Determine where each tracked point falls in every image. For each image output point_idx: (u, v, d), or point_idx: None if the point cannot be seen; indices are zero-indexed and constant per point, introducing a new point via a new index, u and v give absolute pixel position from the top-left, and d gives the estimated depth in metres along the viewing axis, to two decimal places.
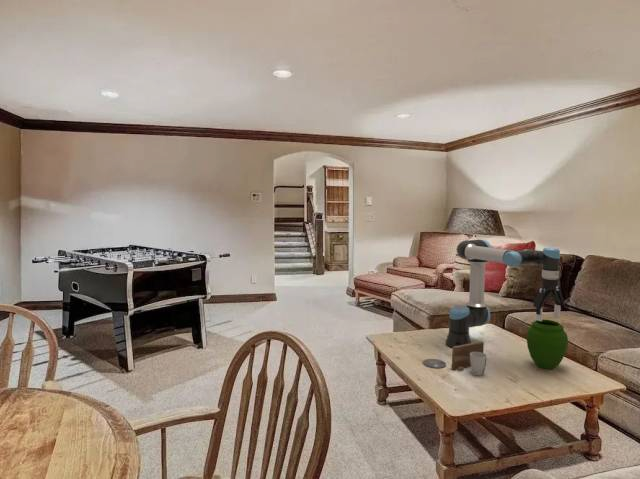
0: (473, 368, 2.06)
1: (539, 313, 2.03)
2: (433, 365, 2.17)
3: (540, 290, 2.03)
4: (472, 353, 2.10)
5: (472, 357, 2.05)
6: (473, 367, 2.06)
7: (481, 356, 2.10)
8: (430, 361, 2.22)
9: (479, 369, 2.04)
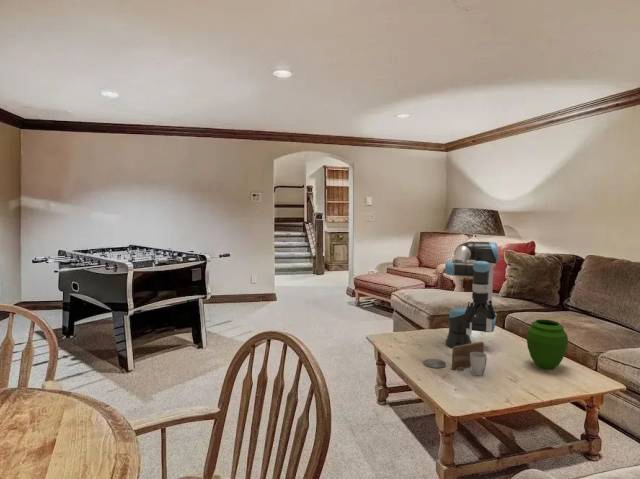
0: (473, 368, 2.06)
1: (468, 327, 2.01)
2: (433, 365, 2.17)
3: (469, 304, 2.02)
4: (472, 353, 2.10)
5: (472, 357, 2.05)
6: (473, 367, 2.06)
7: (481, 356, 2.10)
8: (430, 361, 2.22)
9: (479, 369, 2.04)
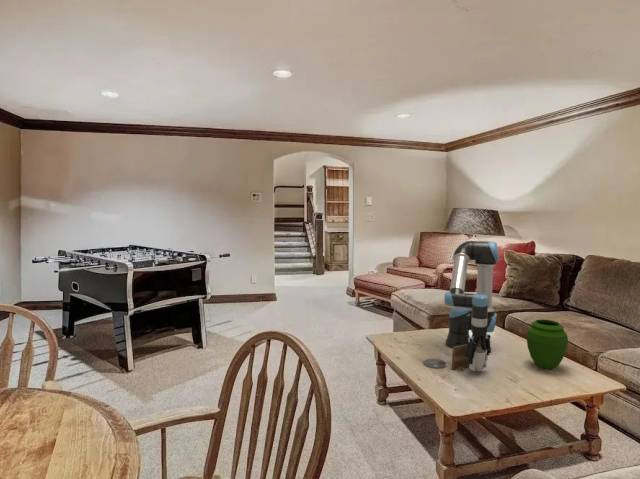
0: None
1: (471, 363, 2.05)
2: (433, 365, 2.17)
3: (468, 340, 2.04)
4: None
5: None
6: None
7: (481, 351, 2.10)
8: (430, 361, 2.22)
9: (479, 364, 2.04)
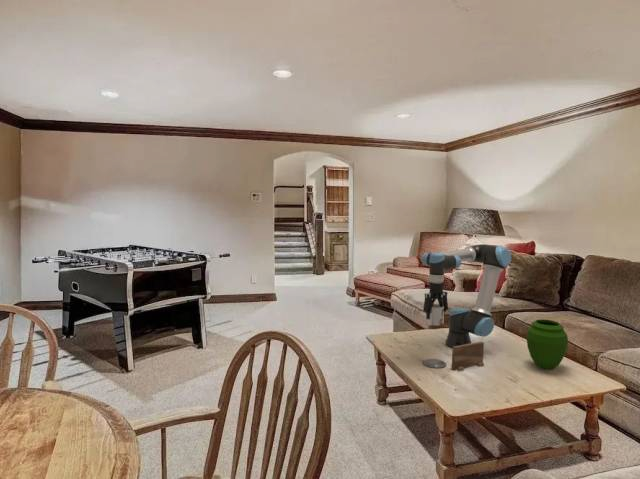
0: None
1: (428, 318, 2.15)
2: (433, 365, 2.17)
3: (426, 295, 2.14)
4: None
5: None
6: None
7: (439, 308, 2.20)
8: (430, 361, 2.22)
9: (436, 319, 2.14)
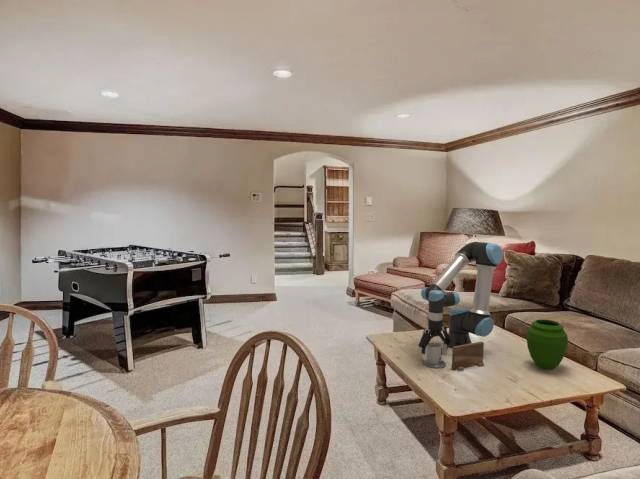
0: (430, 357, 2.18)
1: (424, 352, 2.16)
2: (433, 365, 2.17)
3: (425, 331, 2.16)
4: (430, 344, 2.23)
5: (429, 347, 2.18)
6: (430, 356, 2.18)
7: (438, 346, 2.22)
8: None
9: (435, 358, 2.17)
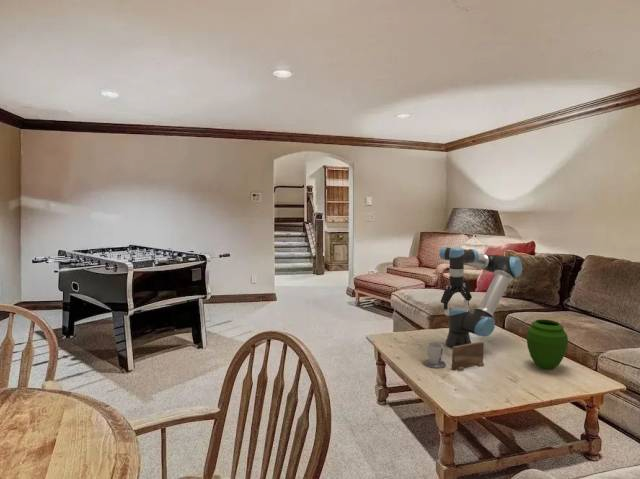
0: (430, 358, 2.18)
1: (446, 308, 2.21)
2: (433, 365, 2.17)
3: (446, 287, 2.20)
4: (430, 344, 2.23)
5: (429, 347, 2.18)
6: (430, 357, 2.18)
7: (438, 346, 2.22)
8: None
9: (435, 358, 2.16)
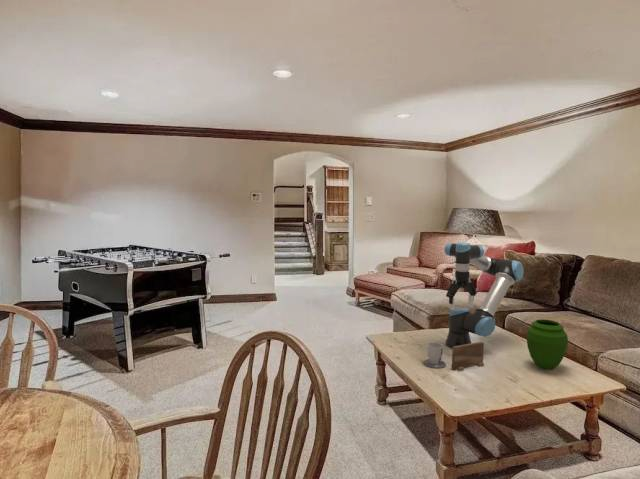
0: (430, 357, 2.18)
1: (451, 302, 2.22)
2: (433, 365, 2.17)
3: (452, 281, 2.22)
4: (430, 344, 2.23)
5: (429, 347, 2.18)
6: (430, 357, 2.18)
7: (438, 346, 2.22)
8: None
9: (435, 358, 2.16)
